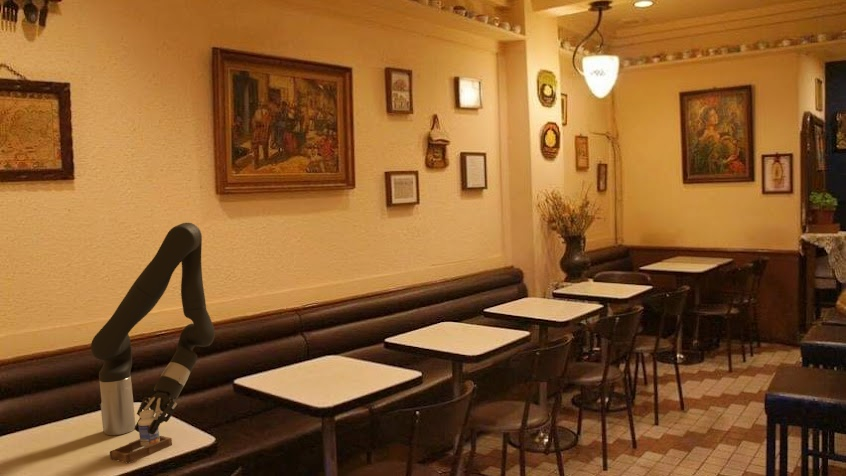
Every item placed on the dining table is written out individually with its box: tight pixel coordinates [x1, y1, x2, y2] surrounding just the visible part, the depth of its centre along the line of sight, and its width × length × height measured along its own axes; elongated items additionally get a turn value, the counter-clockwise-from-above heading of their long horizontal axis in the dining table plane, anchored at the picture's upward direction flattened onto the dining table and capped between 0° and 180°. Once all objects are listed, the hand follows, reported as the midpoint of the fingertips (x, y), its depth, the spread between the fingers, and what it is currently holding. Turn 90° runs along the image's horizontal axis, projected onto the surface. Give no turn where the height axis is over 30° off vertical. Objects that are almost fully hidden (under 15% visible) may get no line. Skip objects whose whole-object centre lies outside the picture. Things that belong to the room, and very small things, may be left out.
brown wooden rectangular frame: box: [109, 435, 173, 464], centre depth 205 cm, size 9×15×2 cm, turn 149°
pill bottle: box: [137, 409, 161, 448], centre depth 207 cm, size 5×5×10 cm
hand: (143, 431), depth 205 cm, fingers closed on pill bottle, 5 cm apart
